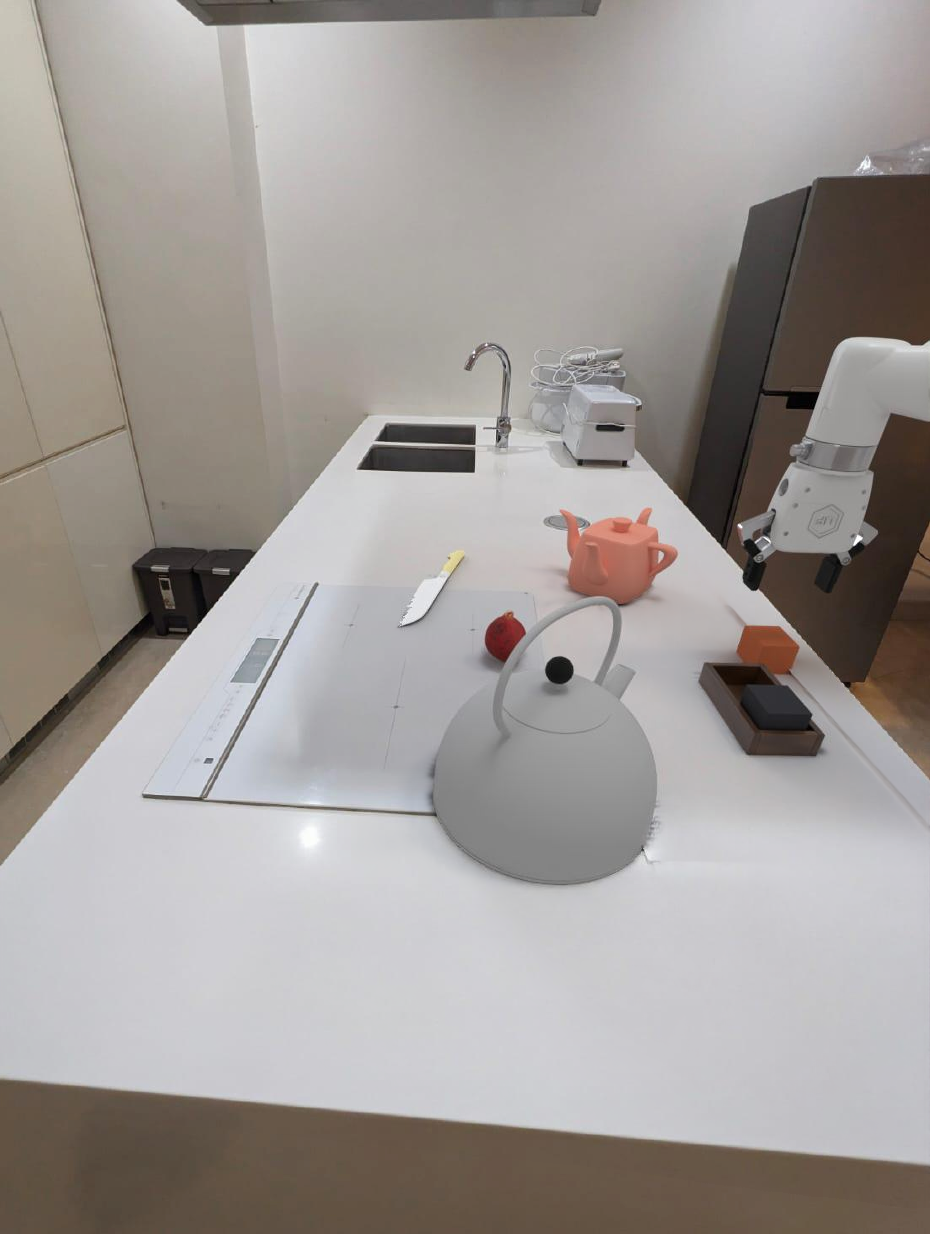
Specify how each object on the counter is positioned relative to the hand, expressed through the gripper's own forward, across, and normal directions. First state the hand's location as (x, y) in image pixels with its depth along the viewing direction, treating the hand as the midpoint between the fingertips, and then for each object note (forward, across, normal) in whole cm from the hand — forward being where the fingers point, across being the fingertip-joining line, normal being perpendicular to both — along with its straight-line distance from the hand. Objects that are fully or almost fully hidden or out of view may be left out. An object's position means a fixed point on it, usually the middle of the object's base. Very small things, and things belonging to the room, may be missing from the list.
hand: (785, 587), depth 84 cm
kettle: (+13, -34, -27) cm, 46 cm away
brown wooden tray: (+12, -6, -13) cm, 19 cm away
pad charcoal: (+12, -6, -17) cm, 21 cm away
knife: (+13, -46, +25) cm, 54 cm away
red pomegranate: (+13, -36, 0) cm, 39 cm away
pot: (+13, -16, +27) cm, 34 cm away
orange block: (+12, 0, 0) cm, 12 cm away
